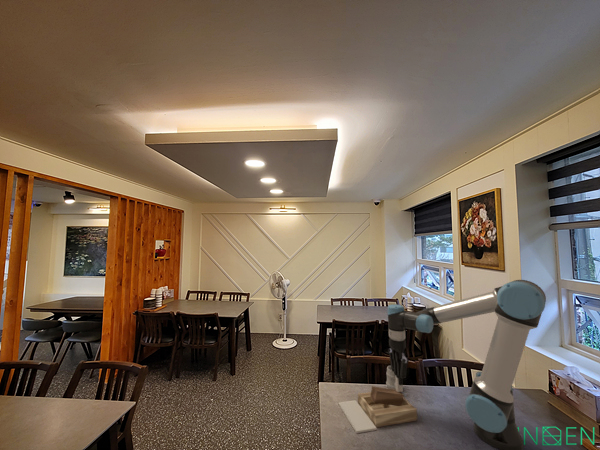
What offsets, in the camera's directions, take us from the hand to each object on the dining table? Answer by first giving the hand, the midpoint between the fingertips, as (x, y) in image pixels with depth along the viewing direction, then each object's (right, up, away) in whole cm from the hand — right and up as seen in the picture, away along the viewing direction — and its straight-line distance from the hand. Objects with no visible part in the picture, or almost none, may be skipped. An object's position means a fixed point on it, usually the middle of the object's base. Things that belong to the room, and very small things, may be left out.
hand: (399, 390), depth 112 cm
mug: (+4, -10, +15) cm, 19 cm away
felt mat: (-22, -7, -6) cm, 24 cm away
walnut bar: (-7, -4, -2) cm, 8 cm away
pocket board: (-7, -8, -3) cm, 11 cm away
